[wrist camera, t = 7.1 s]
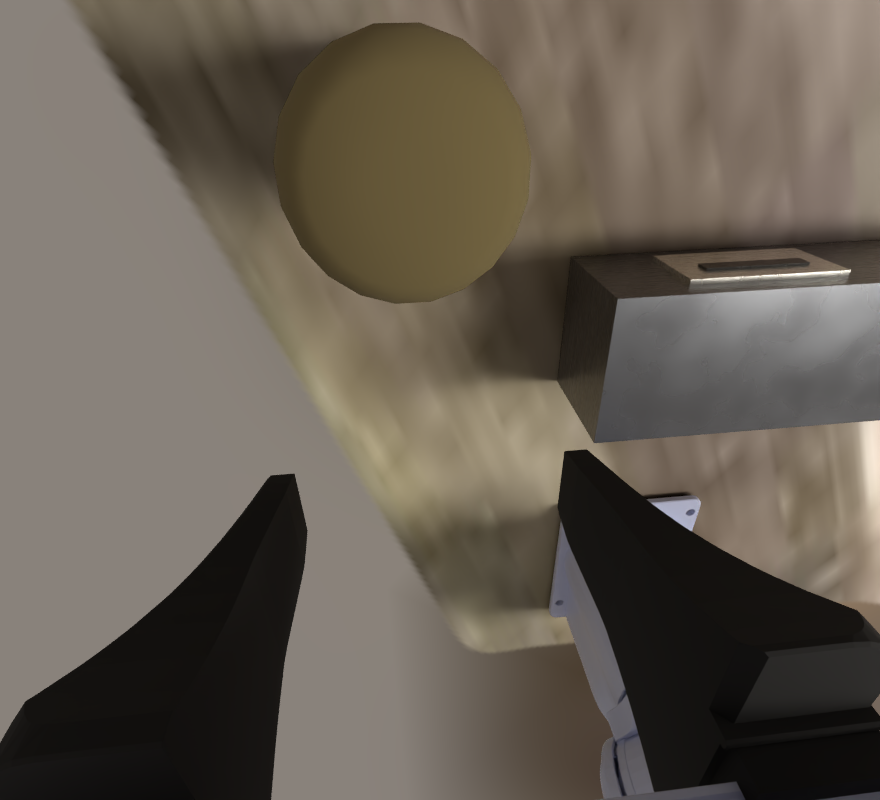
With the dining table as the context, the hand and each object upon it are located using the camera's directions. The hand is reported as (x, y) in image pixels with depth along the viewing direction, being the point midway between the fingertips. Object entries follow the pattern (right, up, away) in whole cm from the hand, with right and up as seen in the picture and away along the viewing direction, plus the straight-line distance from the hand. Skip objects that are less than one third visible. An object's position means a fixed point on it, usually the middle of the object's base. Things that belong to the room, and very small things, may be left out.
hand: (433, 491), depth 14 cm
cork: (-1, +12, +5) cm, 13 cm away
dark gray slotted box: (+17, +7, +10) cm, 21 cm away
